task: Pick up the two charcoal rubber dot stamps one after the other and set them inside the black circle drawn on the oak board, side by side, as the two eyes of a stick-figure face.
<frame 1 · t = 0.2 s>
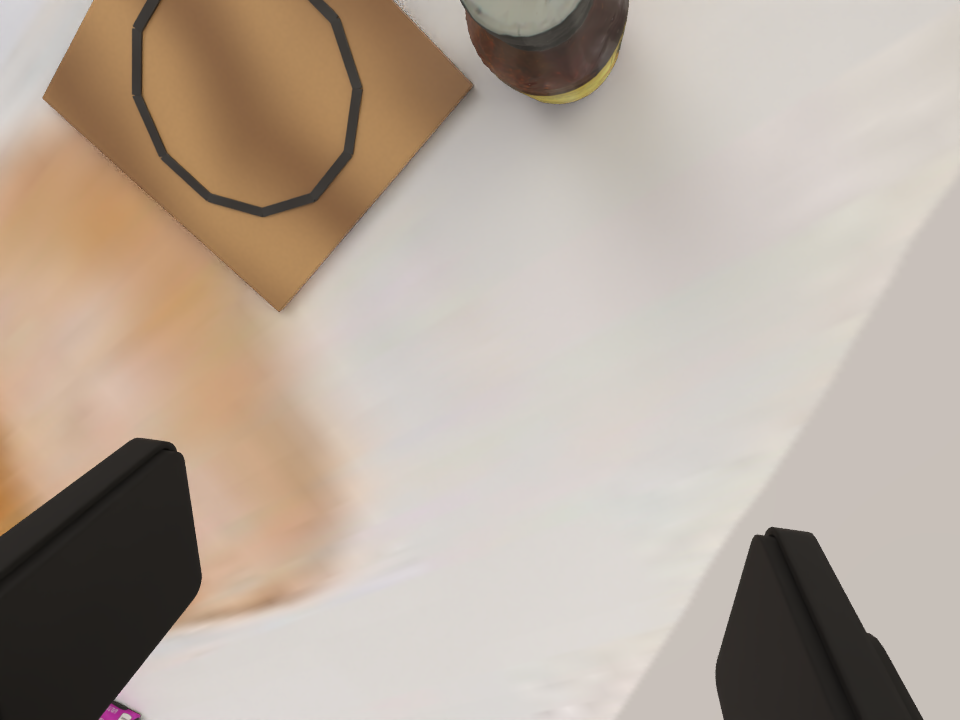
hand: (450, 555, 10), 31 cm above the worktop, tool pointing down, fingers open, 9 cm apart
sauce bottle: (560, 41, 35), on the worktop
candy bar box: (91, 699, 65), on the worktop
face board: (249, 92, 38), on the worktop
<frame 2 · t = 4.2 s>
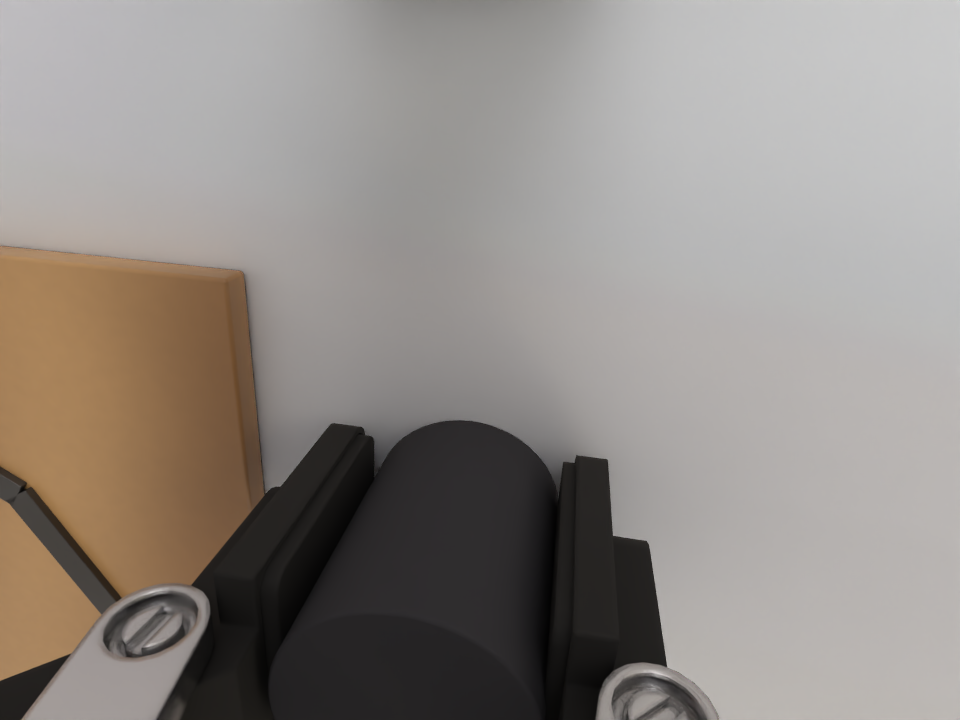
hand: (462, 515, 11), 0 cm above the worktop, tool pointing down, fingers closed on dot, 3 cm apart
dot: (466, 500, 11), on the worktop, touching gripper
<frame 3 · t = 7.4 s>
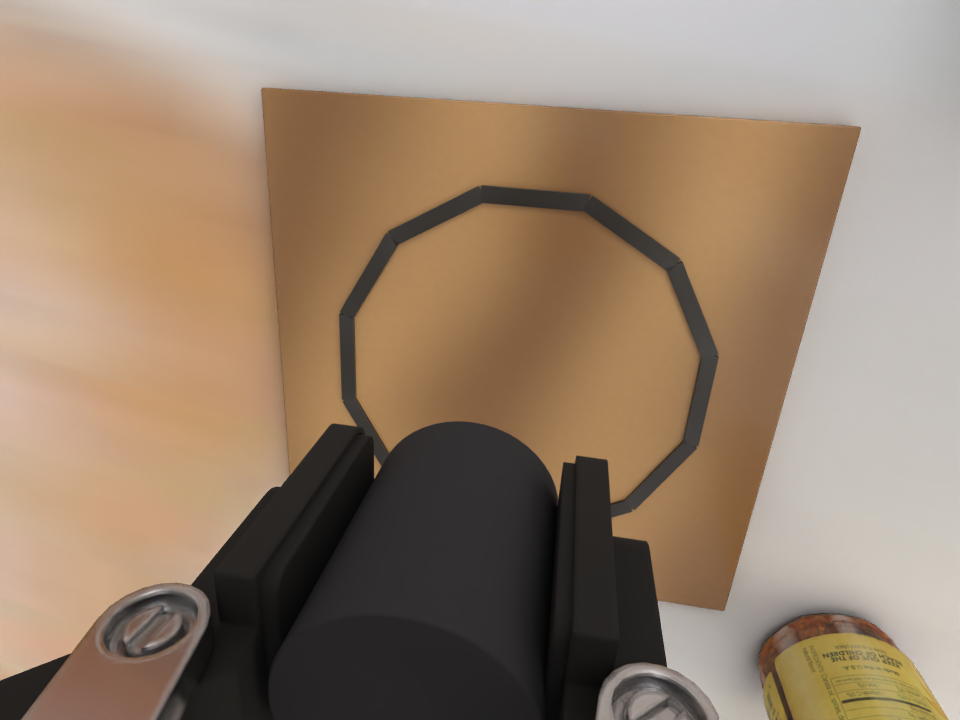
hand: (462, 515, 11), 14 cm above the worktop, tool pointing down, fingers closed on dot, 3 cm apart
sauce bottle: (825, 650, 28), on the worktop
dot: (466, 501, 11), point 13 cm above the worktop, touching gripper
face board: (519, 372, 25), on the worktop
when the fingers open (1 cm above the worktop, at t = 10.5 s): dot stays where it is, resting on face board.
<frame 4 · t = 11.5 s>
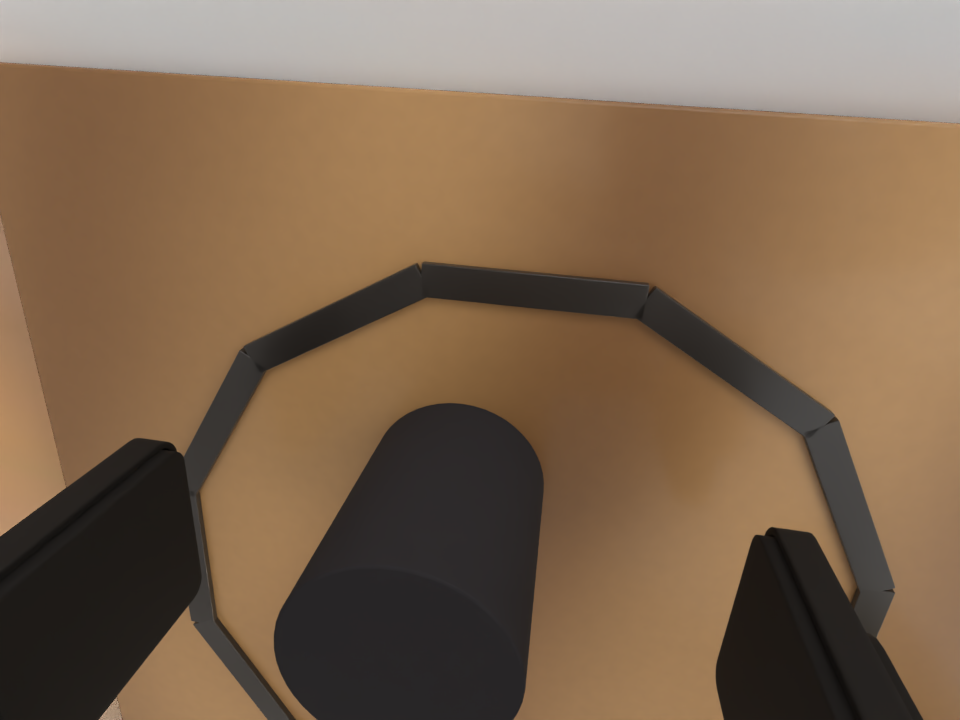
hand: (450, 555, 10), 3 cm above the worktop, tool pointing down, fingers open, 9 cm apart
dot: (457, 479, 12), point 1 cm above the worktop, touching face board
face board: (504, 583, 14), on the worktop
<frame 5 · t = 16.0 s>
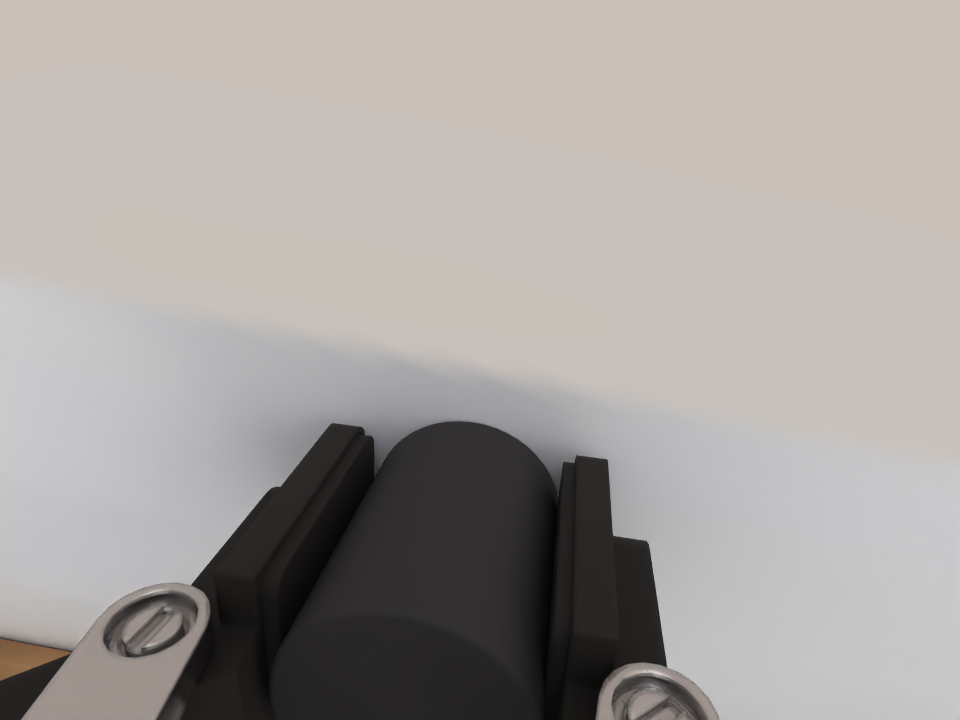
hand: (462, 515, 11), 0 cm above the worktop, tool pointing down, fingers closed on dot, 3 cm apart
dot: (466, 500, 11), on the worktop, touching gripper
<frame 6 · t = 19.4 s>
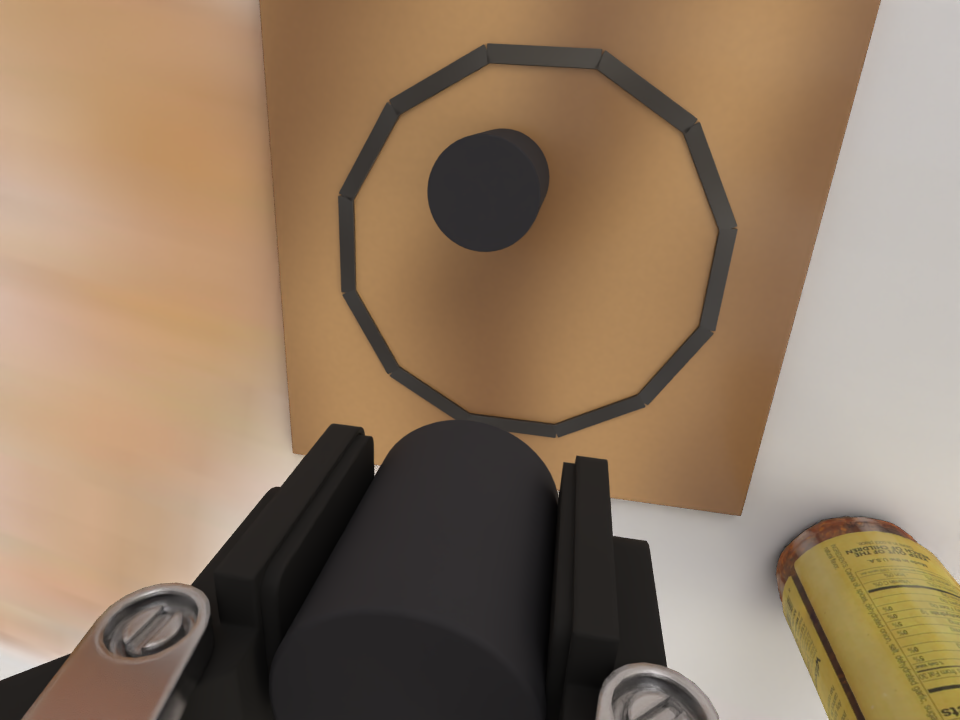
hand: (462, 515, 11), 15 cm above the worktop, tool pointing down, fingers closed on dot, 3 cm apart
sauce bottle: (846, 559, 27), on the worktop
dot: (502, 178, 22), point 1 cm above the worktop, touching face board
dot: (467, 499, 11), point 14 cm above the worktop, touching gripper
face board: (527, 258, 24), on the worktop
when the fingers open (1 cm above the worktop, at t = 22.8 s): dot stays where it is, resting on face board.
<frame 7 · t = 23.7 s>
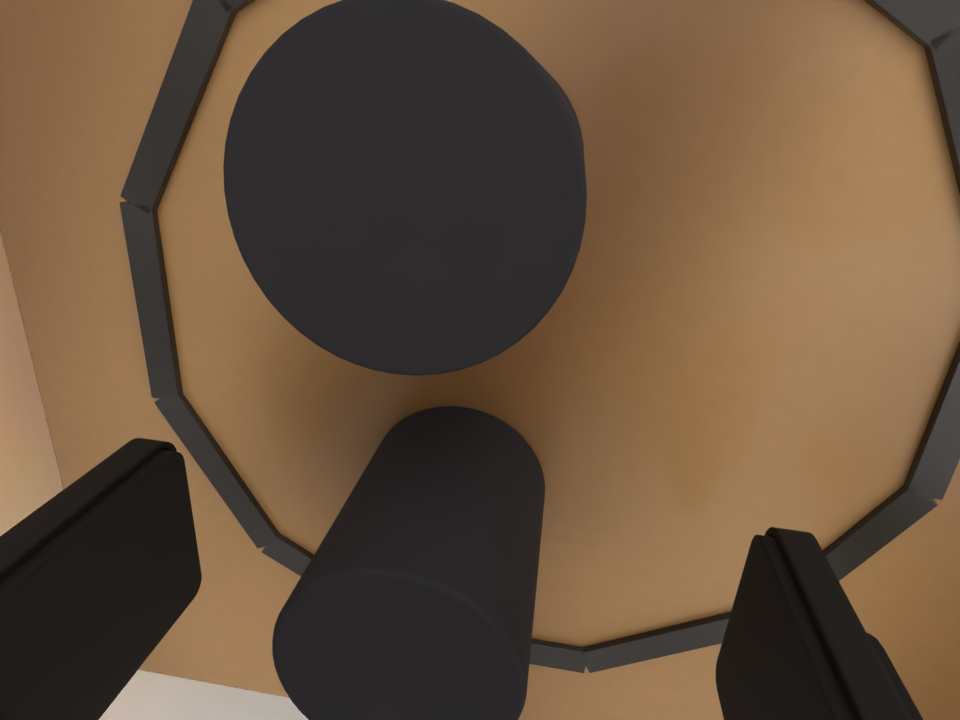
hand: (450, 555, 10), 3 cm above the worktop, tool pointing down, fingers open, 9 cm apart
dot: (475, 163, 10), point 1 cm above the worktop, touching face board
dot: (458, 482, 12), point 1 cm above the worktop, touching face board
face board: (530, 334, 11), on the worktop
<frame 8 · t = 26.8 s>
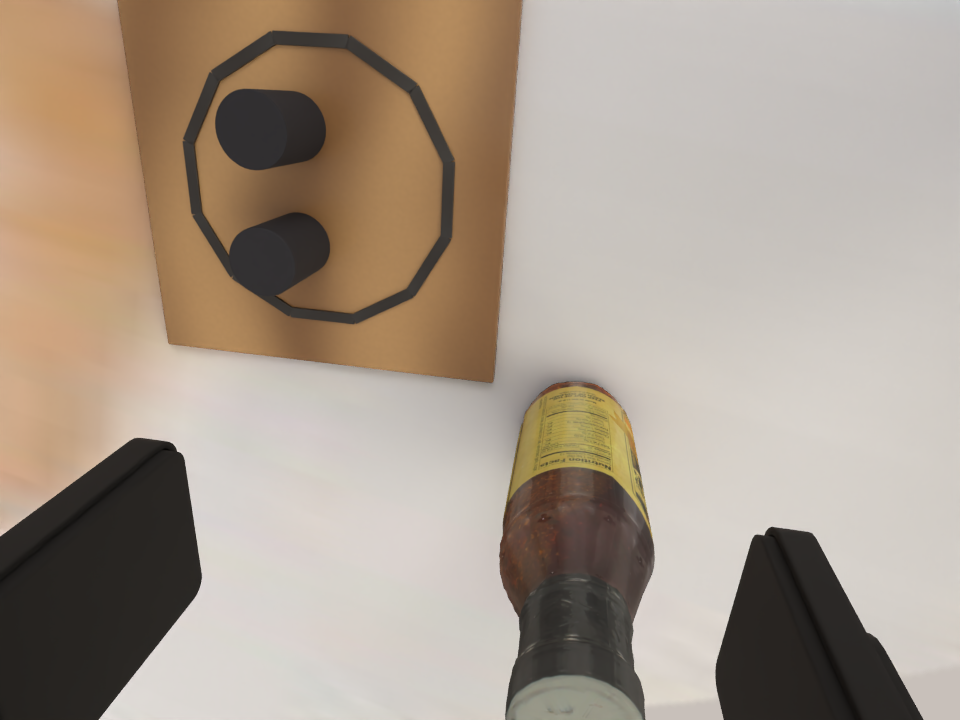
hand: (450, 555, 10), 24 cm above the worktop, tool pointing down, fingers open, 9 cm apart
sauce bottle: (576, 418, 36), on the worktop
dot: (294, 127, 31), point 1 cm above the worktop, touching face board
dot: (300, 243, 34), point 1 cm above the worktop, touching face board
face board: (322, 187, 33), on the worktop
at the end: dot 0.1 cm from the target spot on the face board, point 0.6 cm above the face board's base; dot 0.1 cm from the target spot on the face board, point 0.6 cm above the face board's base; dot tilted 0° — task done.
